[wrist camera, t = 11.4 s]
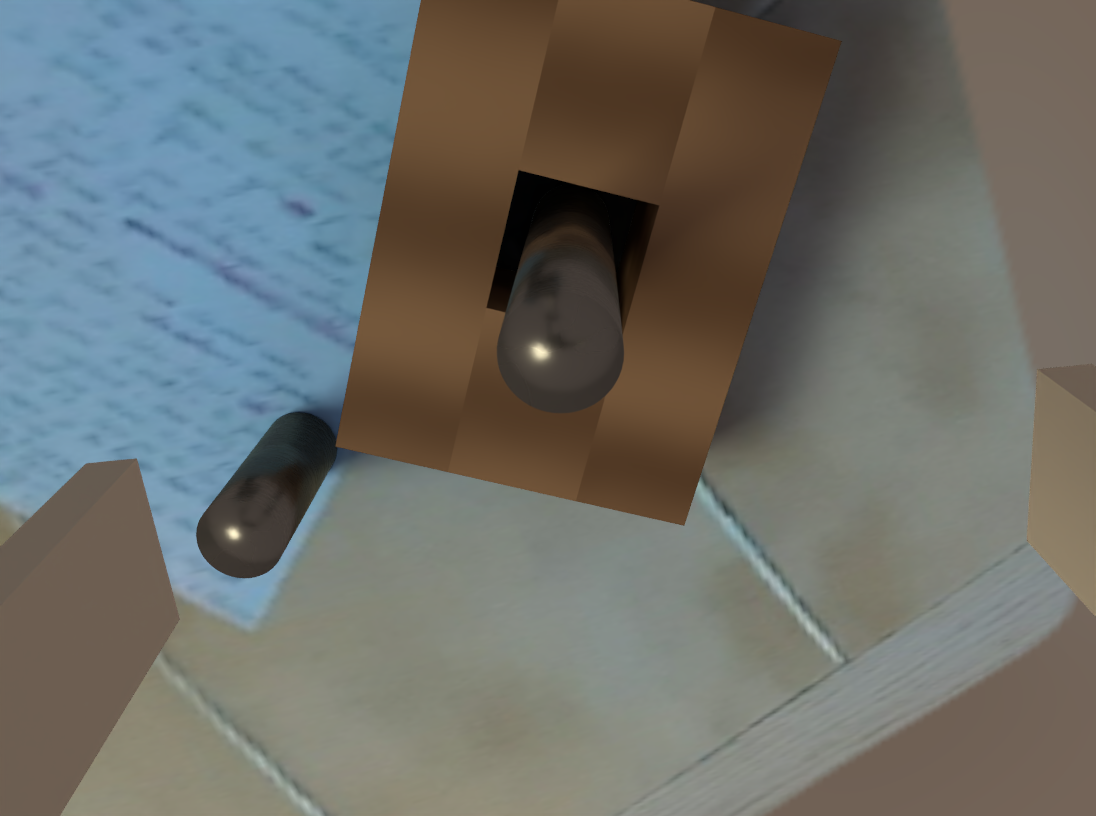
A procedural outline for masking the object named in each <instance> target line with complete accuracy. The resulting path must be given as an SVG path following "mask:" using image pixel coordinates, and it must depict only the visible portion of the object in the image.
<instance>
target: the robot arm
mask: <svg viewBox="0 0 1096 816" xmlns="http://www.w3.org/2000/svg"><path fill="white" fill-rule="evenodd" d="M1027 541H1028V542H1029V543H1030V545H1031V546H1032V547H1033V548H1034V549H1035V550H1036V551H1037V552H1038V553H1039V555H1040V556H1041V557H1042V558H1043V559H1044V560H1045V561H1046V562H1047V563H1048V564H1049V566H1050V567H1051V568H1052V569H1053V570H1054V571H1055V572H1056V573H1057V574H1058V576H1059V577H1060V578H1061V579H1062V580H1063V581H1064V582H1065V583H1066V584H1067V585H1068V587H1069V588H1070V589H1071V590H1072V591H1073V592H1074V593H1075V594H1076V595H1077V597H1078V598H1079V599H1080V600H1081V601H1082V602H1083V603H1084V604H1085V605H1086V606H1087V608H1088V609H1089V610H1090V611H1091V612H1092V613H1093V614H1094V615H1095V616H1096V366H1094V365H1092V364H1087V365H1076V366H1066V367H1056V368H1046V369H1037V382H1036V398H1035V414H1034V431H1033V447H1032V463H1031V480H1030V496H1029V512H1028V529H1027ZM179 619H180V618H179V615H178V611H177V607H176V603H175V600H174V596H173V592H172V588H171V585H170V581H169V577H168V573H167V570H166V566H165V562H164V558H163V555H162V551H161V547H160V543H159V540H158V536H157V532H156V528H155V525H154V521H153V517H152V513H151V510H150V506H149V502H148V498H147V495H146V491H145V487H144V484H143V480H142V476H141V472H140V469H139V465H138V461H137V459H127V460H117V461H107V462H97V463H87V464H85V465H84V466H83V467H82V468H81V469H80V470H79V471H78V472H77V473H76V474H75V475H74V476H73V477H72V478H71V479H70V480H69V481H68V482H67V483H66V484H65V485H64V486H63V487H61V488H60V489H59V490H58V491H57V492H56V493H55V494H54V495H53V496H52V497H51V498H50V499H49V500H48V501H47V502H46V503H45V504H44V505H43V506H42V507H41V508H40V509H39V510H38V511H37V512H36V513H35V514H34V515H33V516H32V517H31V518H30V519H29V520H28V521H27V522H26V523H24V524H23V525H22V526H21V527H20V528H19V529H18V530H17V531H16V532H15V533H14V534H13V535H12V536H11V537H10V538H9V539H8V540H7V541H6V542H5V543H4V544H3V545H2V546H1V547H0V816H60V815H61V813H62V811H63V810H64V808H65V806H66V805H67V803H68V801H69V800H70V798H71V797H72V795H73V793H74V792H75V790H76V788H77V787H78V785H79V783H80V782H81V780H82V779H83V777H84V775H85V774H86V772H87V770H88V769H89V767H90V765H91V764H92V762H93V760H94V759H95V757H96V756H97V754H98V752H99V751H100V749H101V747H102V746H103V744H104V742H105V741H106V739H107V738H108V736H109V734H110V733H111V731H112V729H113V728H114V726H115V724H116V723H117V721H118V719H119V718H120V716H121V715H122V713H123V711H124V710H125V708H126V706H127V705H128V703H129V701H130V700H131V698H132V697H133V695H134V693H135V692H136V690H137V688H138V687H139V685H140V683H141V682H142V680H143V678H144V677H145V675H146V674H147V672H148V670H149V669H150V667H151V665H152V664H153V662H154V660H155V659H156V657H157V656H158V654H159V652H160V651H161V649H162V647H163V646H164V644H165V642H166V641H167V639H168V638H169V636H170V634H171V633H172V631H173V629H174V628H175V626H176V624H177V623H178V621H179Z"/></svg>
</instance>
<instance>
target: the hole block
mask: <svg viewBox="0 0 1096 816" xmlns="http://www.w3.org/2000/svg"><path fill="white" fill-rule="evenodd" d="M841 42H842V41H840V40H836V39H832V38H828V37H825V36H821V35H817V34H814V33H810V32H806V31H802V30H799V29H795V28H791V27H787V26H784V25H780V24H776V23H773V22H769V21H765V20H761V19H758V18H754V17H750V16H746V15H743V14H739V13H735V12H732V11H728V10H724V9H720V8H717V7H713V6H709V5H706V4H702V3H698V2H694V1H691V0H421V3H420V8H419V13H418V18H417V24H416V29H415V34H414V39H413V45H412V50H411V55H410V60H409V65H408V71H407V76H406V81H405V86H404V91H403V97H402V102H401V107H400V112H399V118H398V123H397V128H396V133H395V138H394V144H393V149H392V154H391V159H390V165H389V170H388V175H387V180H386V185H385V191H384V196H383V201H382V206H381V211H380V217H379V222H378V227H377V232H376V238H375V243H374V248H373V253H372V258H371V264H370V269H369V274H368V279H367V284H366V290H365V295H364V300H363V305H362V311H361V316H360V321H359V326H358V331H357V337H356V342H355V347H354V352H353V357H352V363H351V368H350V373H349V378H348V384H347V389H346V394H345V399H344V404H343V410H342V415H341V420H340V425H339V430H338V436H337V441H336V446H335V447H340V448H344V449H349V450H353V451H357V452H362V453H366V454H371V455H375V456H380V457H384V458H388V459H393V460H397V461H402V462H406V463H410V464H415V465H419V466H424V467H428V468H432V469H437V470H441V471H446V472H450V473H454V474H459V475H463V476H468V477H472V478H476V479H481V480H485V481H490V482H494V483H498V484H503V485H507V486H512V487H516V488H521V489H525V490H529V491H534V492H538V493H543V494H547V495H551V496H556V497H560V498H565V499H569V500H573V501H578V502H582V503H587V504H591V505H595V506H600V507H604V508H609V509H613V510H617V511H622V512H626V513H631V514H635V515H639V516H644V517H648V518H653V519H657V520H661V521H666V522H670V523H675V524H679V525H685V521H686V518H687V515H688V512H689V509H690V506H691V503H692V500H693V497H694V494H695V491H696V488H697V485H698V482H699V478H700V475H701V472H702V469H703V466H704V463H705V460H706V457H707V454H708V451H709V448H710V445H711V442H712V438H713V435H714V432H715V429H716V426H717V423H718V420H719V417H720V414H721V411H722V408H723V405H724V402H725V398H726V395H727V392H728V389H729V386H730V383H731V380H732V377H733V374H734V371H735V368H736V365H737V362H738V359H739V355H740V352H741V349H742V346H743V343H744V340H745V337H746V334H747V331H748V328H749V325H750V322H751V319H752V315H753V312H754V309H755V306H756V303H757V300H758V297H759V294H760V291H761V288H762V285H763V282H764V279H765V275H766V272H767V269H768V266H769V263H770V260H771V257H772V254H773V251H774V248H775V245H776V242H777V239H778V235H779V232H780V229H781V226H782V223H783V220H784V217H785V214H786V211H787V208H788V205H789V202H790V199H791V196H792V192H793V189H794V186H795V183H796V180H797V177H798V174H799V171H800V168H801V165H802V162H803V159H804V156H805V152H806V149H807V146H808V143H809V140H810V137H811V134H812V131H813V128H814V125H815V122H816V119H817V116H818V112H819V109H820V106H821V103H822V100H823V97H824V94H825V91H826V88H827V85H828V82H829V79H830V76H831V72H832V69H833V66H834V63H835V60H836V57H837V54H838V51H839V48H840V45H841ZM518 170H521V171H525V172H529V173H533V174H537V175H541V176H544V177H548V178H552V179H556V180H560V181H564V182H568V183H572V184H576V185H580V186H584V187H588V188H592V189H596V190H600V191H604V192H608V193H612V194H616V195H620V196H624V197H628V198H632V199H636V200H637V203H636V206H635V210H634V214H633V217H632V221H631V225H630V228H629V232H628V235H627V239H626V243H625V246H624V250H623V254H622V257H621V261H620V264H619V268H618V272H617V275H616V281H617V290H618V299H619V308H620V317H621V326H622V335H623V344H624V362H623V366H622V370H621V373H620V376H619V378H618V380H617V382H616V383H615V385H614V386H613V388H612V389H611V390H610V392H609V393H608V394H607V395H606V396H605V397H603V398H602V399H601V400H600V401H599V402H597V403H595V404H594V405H592V406H590V407H588V408H586V409H583V410H580V411H576V412H571V413H551V412H545V411H542V410H539V409H536V408H534V407H532V406H530V405H528V404H526V403H525V402H523V401H522V400H520V399H519V398H518V397H517V396H516V395H515V394H514V393H513V392H512V391H511V390H510V389H509V387H508V386H507V385H506V383H505V381H504V379H503V377H502V375H501V372H500V370H499V366H498V362H497V343H498V338H499V334H500V331H501V327H502V323H503V320H504V316H505V313H506V309H507V306H508V302H509V299H510V295H511V292H512V288H513V285H514V281H515V277H516V274H517V271H512V270H508V269H504V268H500V267H496V264H497V260H498V256H499V252H500V247H501V243H502V239H503V234H504V230H505V226H506V222H507V217H508V213H509V209H510V205H511V200H512V196H513V192H514V187H515V183H516V179H517V175H518Z"/></svg>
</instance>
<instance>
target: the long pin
mask: <svg viewBox="0 0 1096 816" xmlns="http://www.w3.org/2000/svg"><path fill="white" fill-rule="evenodd" d="M497 362H498V366H499V370H500V372H501V375H502V377H503V379H504V381H505V383H506V385H507V386H508V387H509V389H510V390H511V391H512V392H513V393H514V394H515V395H516V396H517V397H518V398H519V399H520V400H522V401H523V402H525V403H526V404H528V405H530V406H532V407H534V408H536V409H539V410H542V411H545V412H551V413H571V412H576V411H580V410H583V409H586V408H588V407H590V406H592V405H594V404H595V403H597V402H599V401H600V400H601V399H602V398H603V397H605V396H606V395H607V394H608V393H609V392H610V390H611V389H612V388H613V386H614V385H615V383H616V382H617V380H618V378H619V376H620V373H621V370H622V366H623V362H624V344H623V335H622V326H621V317H620V308H619V299H618V290H617V281H616V272H615V263H614V254H613V245H612V236H611V227H610V218H609V213H608V210H607V207H606V205H605V203H604V201H603V200H602V198H601V197H600V196H599V195H598V194H597V193H596V192H594V191H593V190H591V189H590V188H588V187H584V186H580V185H576V184H564V185H560V186H557V187H555V188H553V189H551V190H549V191H548V192H547V193H546V194H545V195H543V197H542V198H541V199H540V200H539V202H538V203H537V206H536V208H535V211H534V214H533V217H532V221H531V224H530V228H529V231H528V235H527V239H526V242H525V246H524V249H523V253H522V256H521V260H520V263H519V267H518V270H517V274H516V277H515V281H514V285H513V288H512V292H511V295H510V299H509V302H508V306H507V309H506V313H505V316H504V320H503V323H502V327H501V331H500V334H499V338H498V343H497Z"/></svg>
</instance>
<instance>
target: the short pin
mask: <svg viewBox="0 0 1096 816" xmlns="http://www.w3.org/2000/svg"><path fill="white" fill-rule="evenodd" d="M335 446H336V439H335V436H334V434H333V432H332V430H331V429H330V428H329V426H328V425H327V424H326V423H325V422H323V421H322V420H321V419H319V418H318V417H316V416H314V415H311V414H307V413H300V412H297V413H290V414H286V415H284V416H282V417H280V418H279V419H277V420H276V421H275V422H274V423H273V424H272V425H271V427H270V428H269V429H268V431H267V432H266V433H265V434H264V436H263V437H262V438H261V440H260V441H259V442H258V444H257V445H256V446H255V447H254V449H253V450H252V451H251V453H250V454H249V455H248V457H247V458H246V459H245V460H244V462H243V463H242V464H241V466H240V467H239V468H238V470H237V471H236V472H235V474H234V475H233V476H232V477H231V479H230V480H229V481H228V483H227V484H226V485H225V487H224V488H223V489H222V490H221V492H220V493H219V494H218V496H217V497H216V498H215V500H214V501H213V502H212V503H211V505H210V506H209V507H208V509H207V510H206V511H205V513H204V514H203V515H202V517H201V518H200V520H199V523H198V526H197V532H196V537H197V544H198V547H199V549H200V551H201V553H202V555H203V557H204V558H205V559H206V560H207V562H208V563H209V564H210V565H211V566H213V567H214V568H215V569H217V570H218V571H220V572H222V573H224V574H226V575H229V576H232V577H237V578H252V577H257V576H260V575H263V574H265V573H266V572H268V571H270V570H271V569H272V568H273V567H274V566H275V565H276V564H277V562H278V561H279V559H280V558H281V556H282V554H283V552H284V550H285V549H286V547H287V545H288V543H289V541H290V540H291V538H292V536H293V534H294V533H295V531H296V529H297V527H298V525H299V524H300V522H301V520H302V518H303V516H304V515H305V513H306V511H307V509H308V508H309V506H310V504H311V502H312V500H313V499H314V497H315V495H316V493H317V491H318V490H319V488H320V486H321V484H322V482H323V481H324V479H325V477H326V475H327V474H328V472H329V470H330V468H331V466H332V465H333V463H334V461H335V458H336V455H337V447H335Z"/></svg>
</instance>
